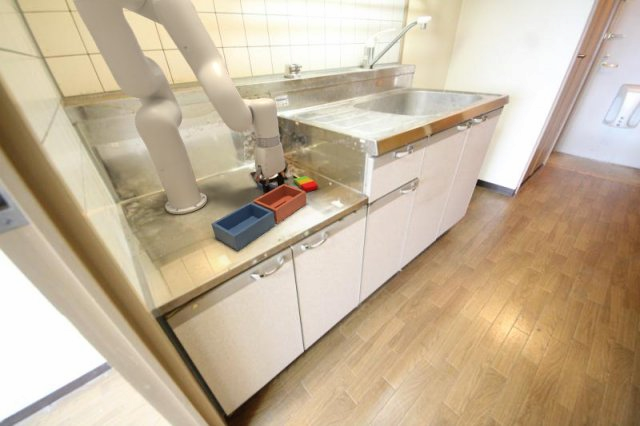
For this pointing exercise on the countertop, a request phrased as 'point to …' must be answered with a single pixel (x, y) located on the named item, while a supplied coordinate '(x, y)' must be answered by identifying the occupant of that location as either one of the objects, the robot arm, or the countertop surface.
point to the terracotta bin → (288, 206)
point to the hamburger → (271, 179)
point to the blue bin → (243, 225)
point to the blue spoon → (268, 184)
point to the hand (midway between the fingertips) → (274, 190)
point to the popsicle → (305, 183)
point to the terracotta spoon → (281, 202)
